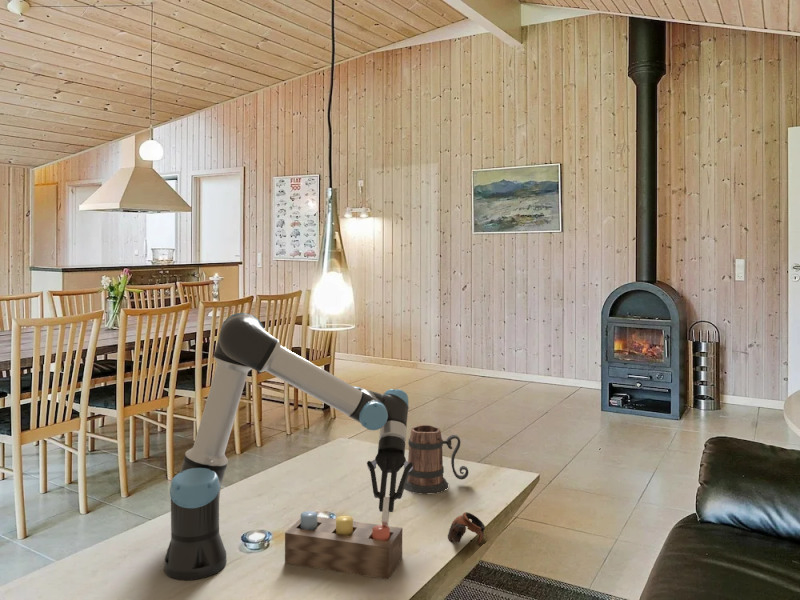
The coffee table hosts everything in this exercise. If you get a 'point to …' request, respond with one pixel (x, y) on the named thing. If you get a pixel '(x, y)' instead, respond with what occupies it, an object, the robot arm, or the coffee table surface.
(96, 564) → the coffee table surface
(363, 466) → the coffee table surface
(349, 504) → the coffee table surface
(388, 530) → the red button
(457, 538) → the pottery mug
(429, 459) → the tankard
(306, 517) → the slate button
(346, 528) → the mustard button
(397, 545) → the console
